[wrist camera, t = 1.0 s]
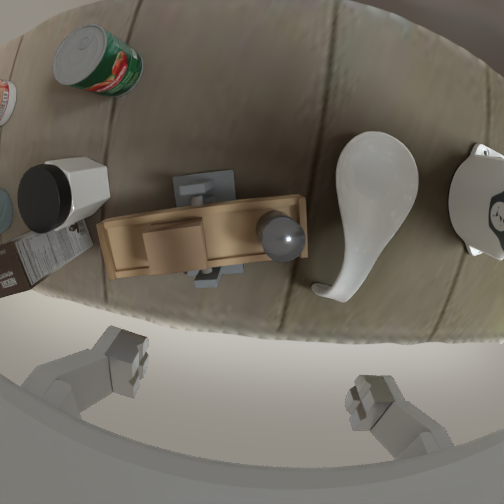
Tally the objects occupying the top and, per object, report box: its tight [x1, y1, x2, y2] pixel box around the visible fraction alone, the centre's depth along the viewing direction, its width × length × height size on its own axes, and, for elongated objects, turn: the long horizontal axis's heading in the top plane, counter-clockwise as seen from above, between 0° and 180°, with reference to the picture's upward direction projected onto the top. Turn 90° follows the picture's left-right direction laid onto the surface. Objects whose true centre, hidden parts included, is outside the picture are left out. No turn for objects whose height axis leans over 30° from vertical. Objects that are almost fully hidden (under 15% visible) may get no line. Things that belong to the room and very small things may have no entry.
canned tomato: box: [53, 24, 144, 98], centre depth 25 cm, size 8×8×11 cm
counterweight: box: [256, 210, 306, 262], centre depth 30 cm, size 4×4×5 cm
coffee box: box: [0, 219, 93, 298], centre depth 31 cm, size 9×6×16 cm
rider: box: [142, 217, 208, 275], centre depth 30 cm, size 6×5×4 cm
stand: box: [172, 170, 244, 288], centre depth 34 cm, size 8×14×6 cm, turn 5°
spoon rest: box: [311, 131, 419, 302], centre depth 33 cm, size 24×12×7 cm, turn 164°
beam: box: [96, 194, 308, 281], centre depth 32 cm, size 24×9×3 cm, turn 95°
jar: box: [18, 157, 110, 234], centre depth 30 cm, size 9×8×12 cm
